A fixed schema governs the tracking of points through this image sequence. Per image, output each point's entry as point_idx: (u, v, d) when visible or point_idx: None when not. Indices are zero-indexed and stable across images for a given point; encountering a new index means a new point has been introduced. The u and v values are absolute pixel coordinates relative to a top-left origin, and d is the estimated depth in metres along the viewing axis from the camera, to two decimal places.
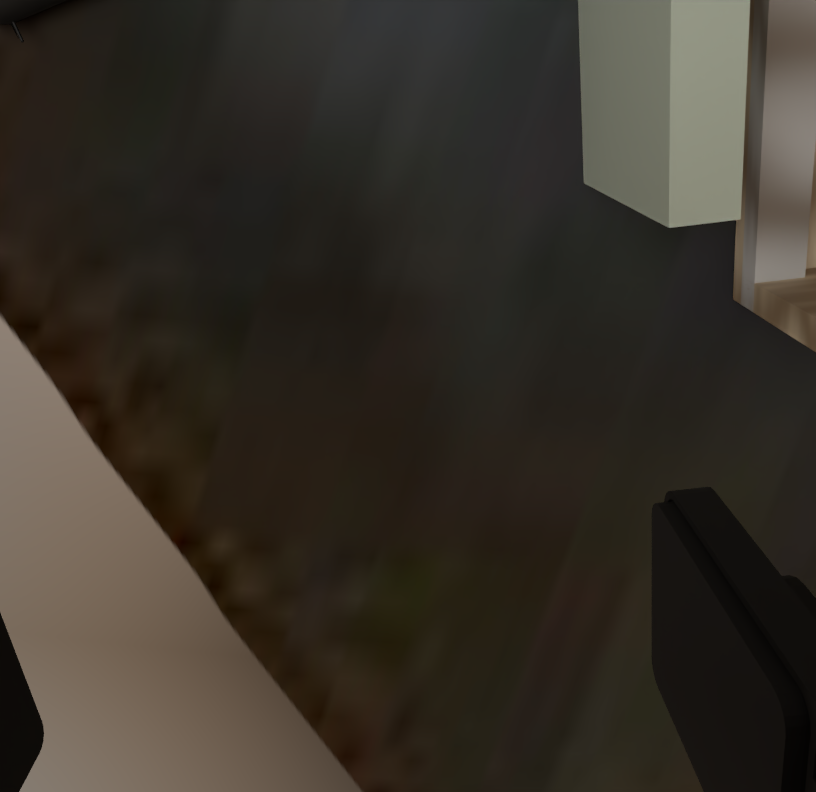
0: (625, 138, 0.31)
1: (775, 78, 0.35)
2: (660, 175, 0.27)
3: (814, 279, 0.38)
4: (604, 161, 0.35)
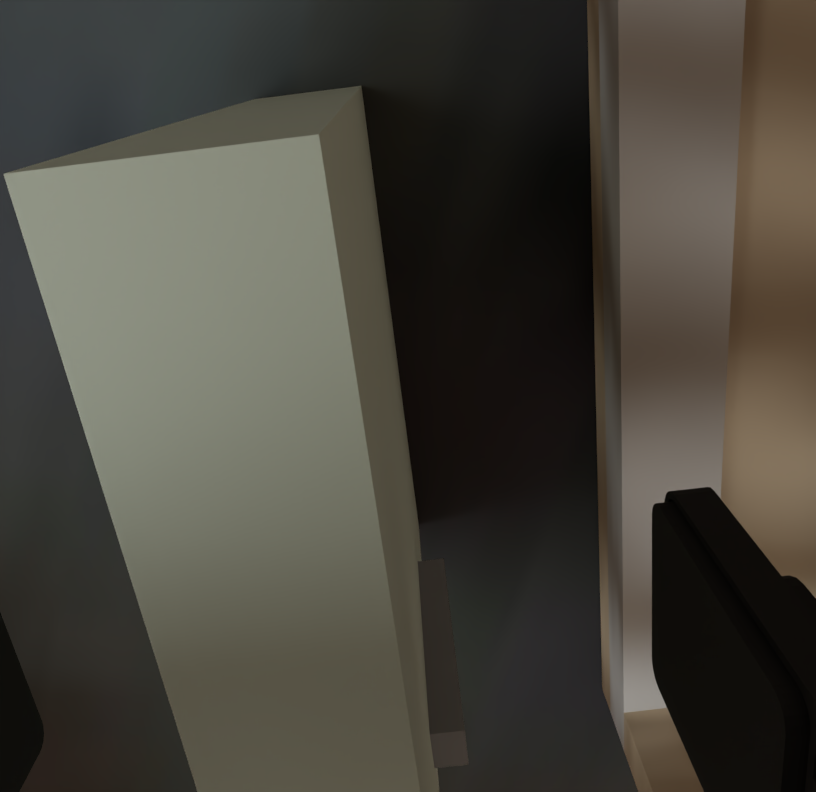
0: None
1: (641, 416, 0.19)
2: None
3: None
4: None
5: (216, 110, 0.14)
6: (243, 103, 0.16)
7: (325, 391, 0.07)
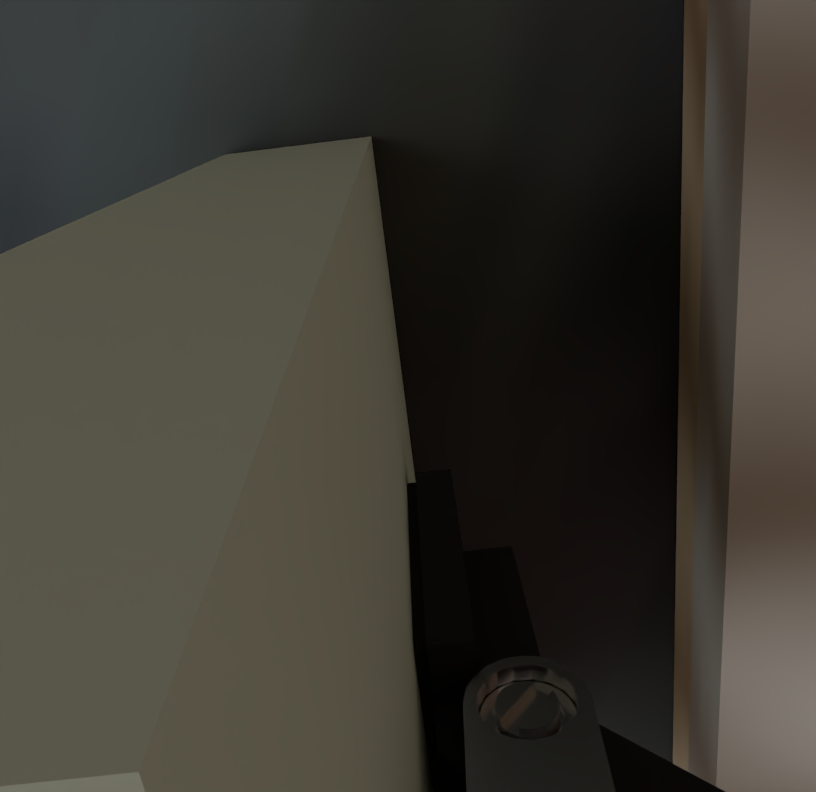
0: None
1: (751, 582, 0.14)
2: None
3: None
4: None
5: (147, 189, 0.09)
6: (201, 168, 0.11)
7: None
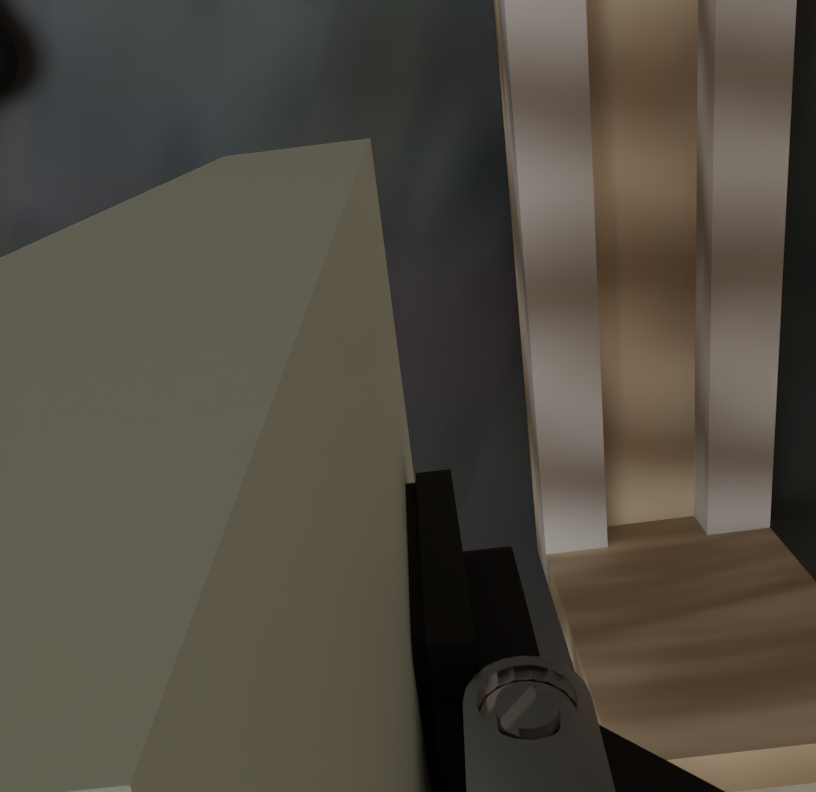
0: None
1: (542, 331, 0.28)
2: None
3: (615, 554, 0.31)
4: None
5: None
6: (200, 170, 0.11)
7: None
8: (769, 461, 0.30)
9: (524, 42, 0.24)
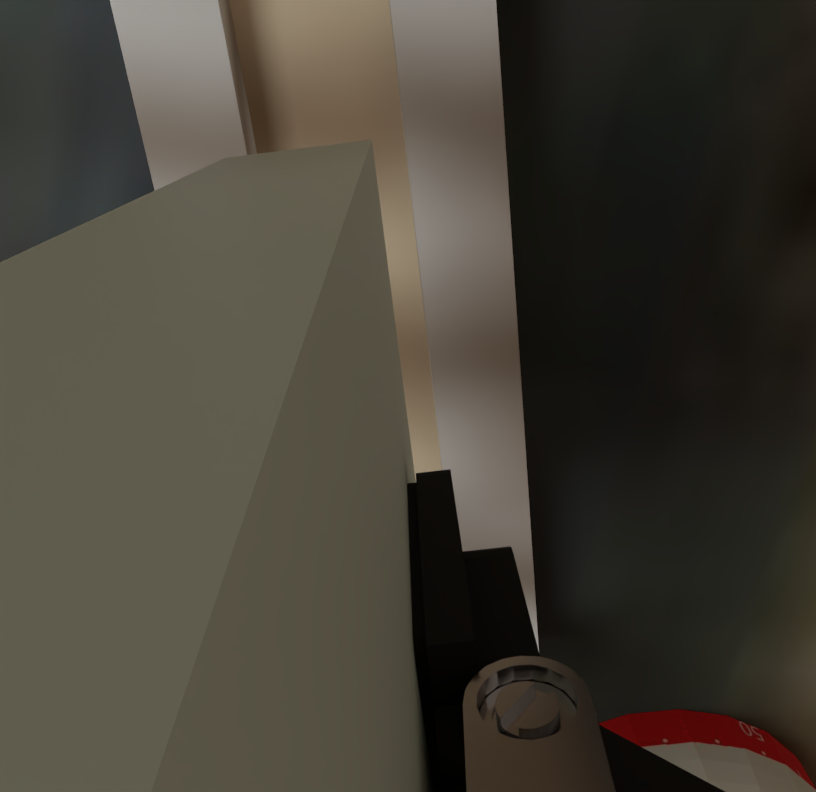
0: None
1: None
2: None
3: None
4: None
5: None
6: (202, 172, 0.11)
7: None
8: (530, 581, 0.25)
9: (149, 73, 0.19)
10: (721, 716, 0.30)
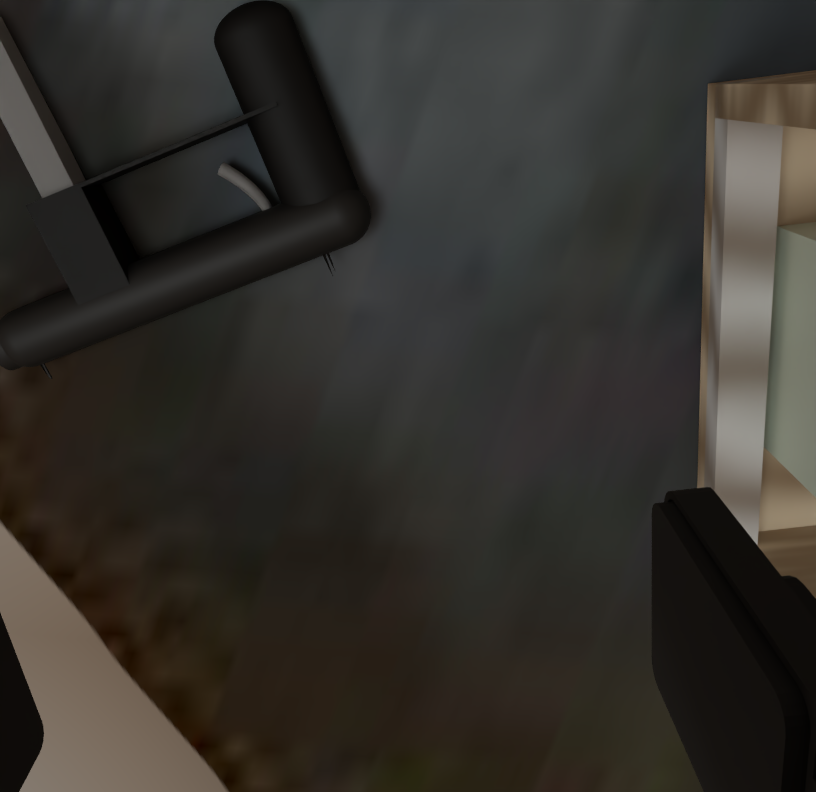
0: None
1: (727, 396, 0.40)
2: None
3: (765, 552, 0.43)
4: (801, 455, 0.38)
5: None
6: (802, 234, 0.36)
7: None
8: None
9: (736, 208, 0.36)
10: None
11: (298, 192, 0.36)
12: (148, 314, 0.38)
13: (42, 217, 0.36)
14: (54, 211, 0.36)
